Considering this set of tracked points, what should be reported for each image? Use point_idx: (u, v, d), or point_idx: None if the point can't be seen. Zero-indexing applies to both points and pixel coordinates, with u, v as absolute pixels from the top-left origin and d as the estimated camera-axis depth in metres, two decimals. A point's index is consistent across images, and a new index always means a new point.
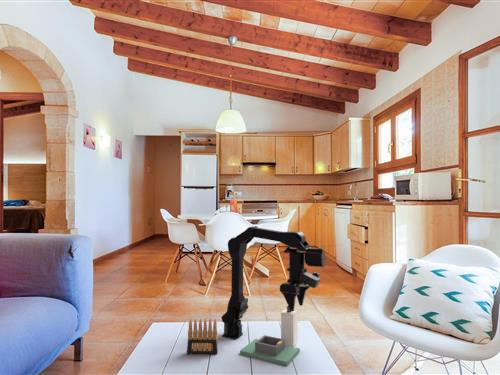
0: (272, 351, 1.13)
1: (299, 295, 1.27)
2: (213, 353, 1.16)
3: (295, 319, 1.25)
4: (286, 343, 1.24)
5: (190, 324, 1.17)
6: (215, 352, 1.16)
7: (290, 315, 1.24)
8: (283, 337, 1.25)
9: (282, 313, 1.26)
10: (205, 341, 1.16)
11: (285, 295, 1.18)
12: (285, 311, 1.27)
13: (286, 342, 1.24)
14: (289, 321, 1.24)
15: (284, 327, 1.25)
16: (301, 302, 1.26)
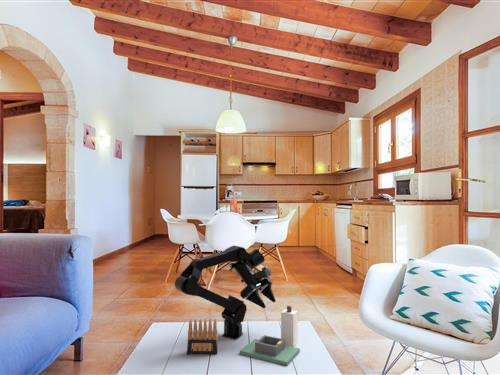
0: (272, 351, 1.13)
1: (268, 295, 1.36)
2: (213, 353, 1.16)
3: (295, 319, 1.25)
4: (286, 343, 1.24)
5: (190, 324, 1.17)
6: (215, 352, 1.16)
7: (290, 315, 1.24)
8: (283, 337, 1.25)
9: (282, 313, 1.26)
10: (205, 340, 1.16)
11: (250, 299, 1.27)
12: (285, 311, 1.27)
13: (286, 342, 1.24)
14: (289, 321, 1.24)
15: (284, 327, 1.25)
16: (273, 299, 1.35)
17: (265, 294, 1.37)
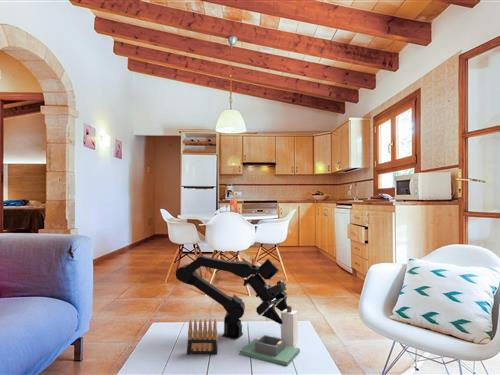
0: (272, 351, 1.13)
1: (283, 309, 1.33)
2: (213, 353, 1.16)
3: (295, 319, 1.25)
4: (286, 343, 1.24)
5: (190, 324, 1.17)
6: (215, 352, 1.16)
7: (290, 315, 1.24)
8: (283, 337, 1.25)
9: (282, 313, 1.26)
10: (205, 341, 1.16)
11: (267, 315, 1.24)
12: (285, 311, 1.27)
13: (286, 342, 1.24)
14: (289, 321, 1.24)
15: (284, 327, 1.25)
16: None
17: (280, 308, 1.34)
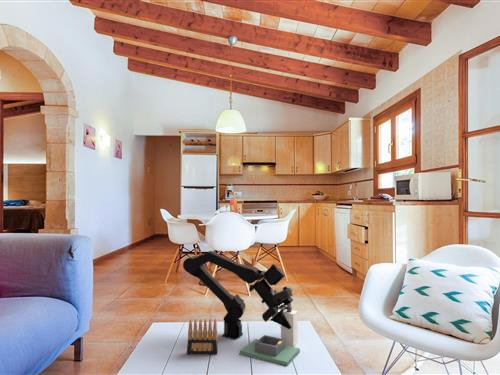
0: (272, 351, 1.13)
1: None
2: (213, 353, 1.16)
3: (295, 319, 1.25)
4: (286, 343, 1.24)
5: (190, 324, 1.17)
6: (215, 352, 1.16)
7: (290, 315, 1.24)
8: (283, 337, 1.25)
9: None
10: (205, 341, 1.16)
11: (275, 320, 1.25)
12: (285, 311, 1.27)
13: (286, 342, 1.24)
14: (289, 321, 1.24)
15: (284, 327, 1.25)
16: None
17: None
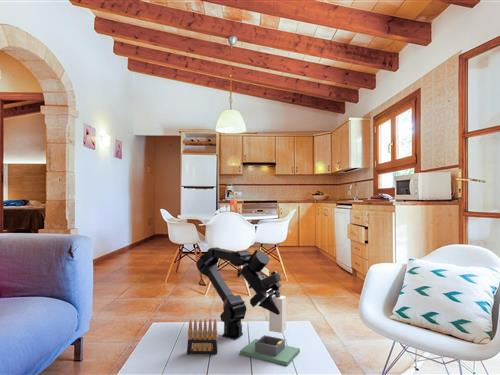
0: (272, 351, 1.13)
1: None
2: (213, 353, 1.16)
3: (284, 304, 1.21)
4: (274, 329, 1.19)
5: (190, 324, 1.17)
6: (215, 352, 1.16)
7: (279, 300, 1.19)
8: (271, 323, 1.20)
9: None
10: (205, 340, 1.16)
11: (263, 305, 1.20)
12: (273, 296, 1.22)
13: (274, 328, 1.19)
14: (278, 306, 1.19)
15: (273, 313, 1.20)
16: None
17: None
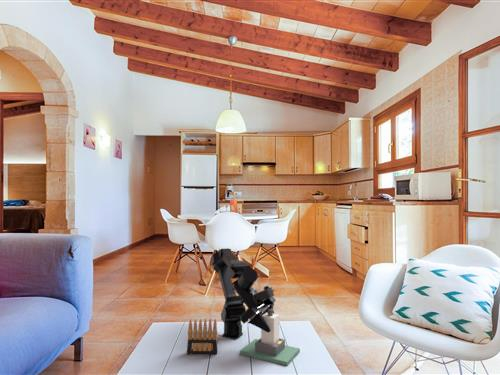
0: (272, 351, 1.13)
1: None
2: (213, 353, 1.16)
3: (276, 323, 1.17)
4: None
5: (190, 324, 1.17)
6: (215, 352, 1.16)
7: (271, 319, 1.16)
8: (263, 342, 1.17)
9: None
10: (205, 341, 1.16)
11: (253, 323, 1.15)
12: (266, 315, 1.18)
13: None
14: (270, 325, 1.16)
15: (265, 332, 1.17)
16: None
17: None
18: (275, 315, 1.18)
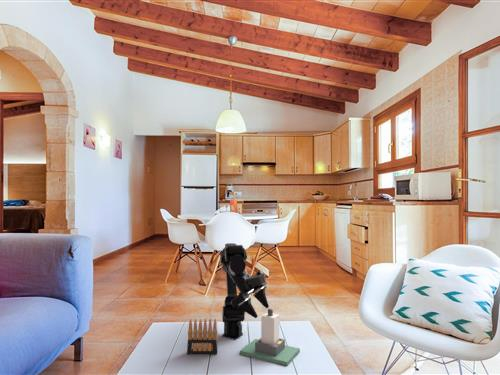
0: (272, 351, 1.13)
1: (261, 300, 1.27)
2: (213, 353, 1.16)
3: (276, 323, 1.17)
4: None
5: (190, 324, 1.17)
6: (215, 352, 1.16)
7: (271, 319, 1.16)
8: (263, 342, 1.17)
9: (262, 317, 1.17)
10: (205, 341, 1.16)
11: (242, 308, 1.18)
12: (266, 315, 1.19)
13: None
14: (270, 325, 1.16)
15: (265, 332, 1.17)
16: (266, 304, 1.26)
17: (258, 298, 1.28)
18: (275, 315, 1.18)
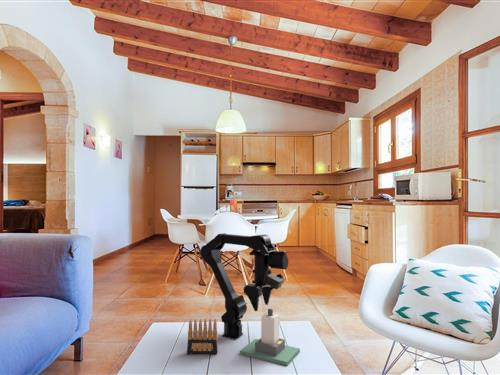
0: (272, 351, 1.13)
1: (265, 295, 1.32)
2: (213, 353, 1.16)
3: (276, 323, 1.17)
4: None
5: (190, 324, 1.17)
6: (215, 352, 1.16)
7: (271, 319, 1.16)
8: (263, 342, 1.17)
9: (262, 317, 1.17)
10: (205, 341, 1.16)
11: (249, 296, 1.23)
12: (266, 315, 1.19)
13: None
14: (270, 325, 1.16)
15: (265, 332, 1.17)
16: (267, 301, 1.32)
17: (263, 291, 1.33)
18: (275, 315, 1.18)
